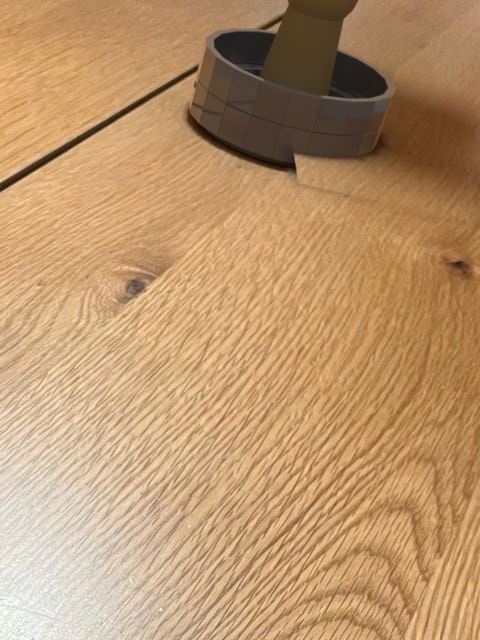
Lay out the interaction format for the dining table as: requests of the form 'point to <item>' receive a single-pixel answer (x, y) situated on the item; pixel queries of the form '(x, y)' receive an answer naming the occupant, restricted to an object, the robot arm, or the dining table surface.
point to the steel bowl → (286, 102)
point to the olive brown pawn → (307, 45)
